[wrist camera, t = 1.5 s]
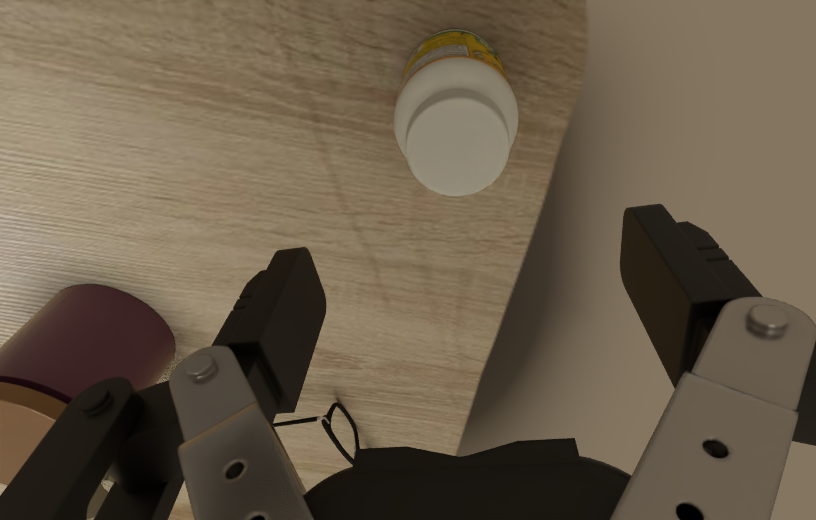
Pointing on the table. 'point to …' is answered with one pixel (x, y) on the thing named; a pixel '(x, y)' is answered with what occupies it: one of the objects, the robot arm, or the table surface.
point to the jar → (73, 361)
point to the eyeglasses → (329, 428)
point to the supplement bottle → (455, 113)
